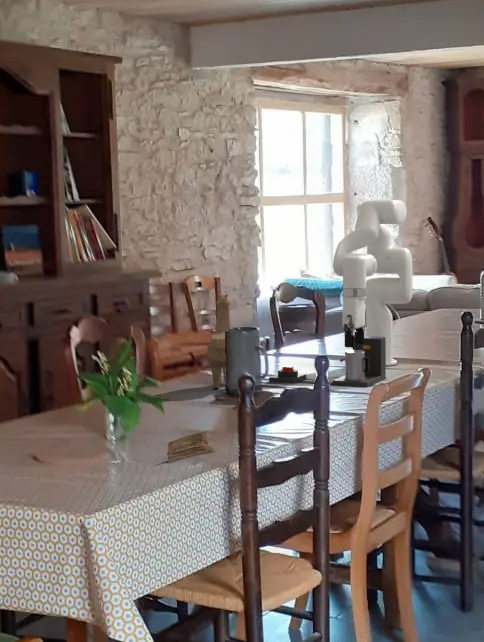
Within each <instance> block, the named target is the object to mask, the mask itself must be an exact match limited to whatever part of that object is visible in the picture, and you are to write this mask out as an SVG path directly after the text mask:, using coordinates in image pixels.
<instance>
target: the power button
mask: <svg viewBox="0 0 484 642" xmlns="http://www.w3.org/2000/svg"><path fill="white" fill-rule="evenodd" d="M281 369H282V371H293V369H294V365H282V367H281Z"/></svg>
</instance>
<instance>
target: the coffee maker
mask: <svg viewBox="0 0 484 642" xmlns="http://www.w3.org/2000/svg"><path fill="white" fill-rule="evenodd" d="M352 350H362V351H365V357H368V358H369V372H365V379H363V380H348V379H345V374H344V375H342V376H340V377H338V378H334V379H333V380H332V385H333V386H345V387H359V388H361V387H362V388H368V387H371V386H373V385H375V384H377V383H379V382H381V381H383V380H385V379H386V378H387V377H386V374H387V372H386V371H387V370H386V369H387V366H386V337H371V336H366V335H364V344H355V346H354V347H353V348H352ZM365 369H366V360H365Z"/></svg>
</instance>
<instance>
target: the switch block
mask: <svg viewBox="0 0 484 642" xmlns="http://www.w3.org/2000/svg"><path fill="white" fill-rule="evenodd" d="M305 380H307V373H300V372H299V370H298V369H296V368H293V371H282V368H281V369H278V370H277V374H274V375H271V376H269V377H268V381H269V383H273V384H274V383H277V384H289V385H290V384H293V385H295V384H296V383H300V382H302V381H305Z"/></svg>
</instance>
